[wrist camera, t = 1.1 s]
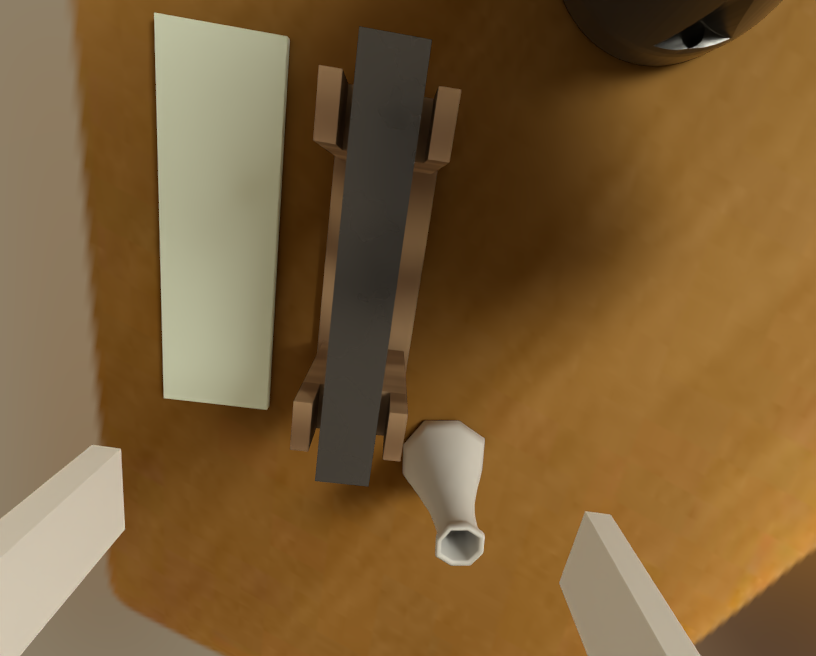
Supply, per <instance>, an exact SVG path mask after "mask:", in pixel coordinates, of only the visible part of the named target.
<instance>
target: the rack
mask: <svg viewBox="0 0 816 656" xmlns="http://www.w3.org/2000/svg"><path fill="white" fill-rule="evenodd" d="M353 86H354V85H352V84H348V82H347V79H346V77H345V74H344V72H343V69H340V68H334V67H329V66H323V65H319V69H318V83H317V96H316V109H315V123H314V136H313V141H315V142H316V143H317V144H319V145H320V146H322V147H323V148H325V149H326V150H327V151H329V152H330V153H332V154H333V155H335V158H334V169H333V180H332V191H331V203H330V214H329V225H328V236H327V247H326V258H325V269H324V281H323V292H322V303H321V314H320V325H319V336H318V348H317V355H316V357H315V359H314V361H313V363H312V365H311V367H310V369H309V371H308V373H307V375H306V377H305V379H304V381H303V383H302V385H301V387H300V389H299V391H298V393H297V395H296V397H295V400H294V403H293V416H292V430H291V443H290V450H299V451H308V450H309V447H310V444H311V441H312V438H313V436H314V433H315V430H316V428H320V425H321V415H322V405H323V394H324V384H325V374H326V363H327V353H328V343H329V333H330V322H331V312H332V302H333V292H334V281H335V271H336V261H337V251H338V240H339V230H340V220H341V210H342V199H343V189H344V179H345V168H346V158H347V148H348V138H349V127H350V117H351V107H352V97H353ZM460 96H461V90H460V89H454V88H449V87H443V86H439V87H438V89H437V92H436V94H435V97H434V99H433V98H427V97H424V99H423V106H422V113H421V120H420V128H419V135H418V142H417V149H416V156H415V163H414V170H413V177H412V184H411V191H410V198H409V205H408V212H407V219H406V226H405V233H404V240H403V247H402V254H401V261H400V268H399V275H398V282H397V289H396V297H395V304H394V311H393V318H392V325H391V332H390V339H389V346H388V353H387V360H386V367H385V374H384V381H383V388H382V395H381V402H380V409H379V416H378V423H377V430H376V435H383V436H384V443H383V460H391V461H400V460H401V454H402V448H403V442H404V436H405V430H406V424H407V417H408V407H407V391H406V369H407V362H408V356H409V350H410V343H411V337H412V331H413V324H414V318H415V312H416V305H417V299H418V293H419V286H420V280H421V274H422V267H423V261H424V255H425V248H426V242H427V236H428V229H429V223H430V217H431V210H432V204H433V198H434V191H435V185H436V179H437V172H438V170H439V169H440V168H442V167H443V166H445V165H447V164H448V163H450V157H451V150H452V144H453V138H454V132H455V126H456V120H457V114H458V108H459V102H460Z"/></svg>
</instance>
